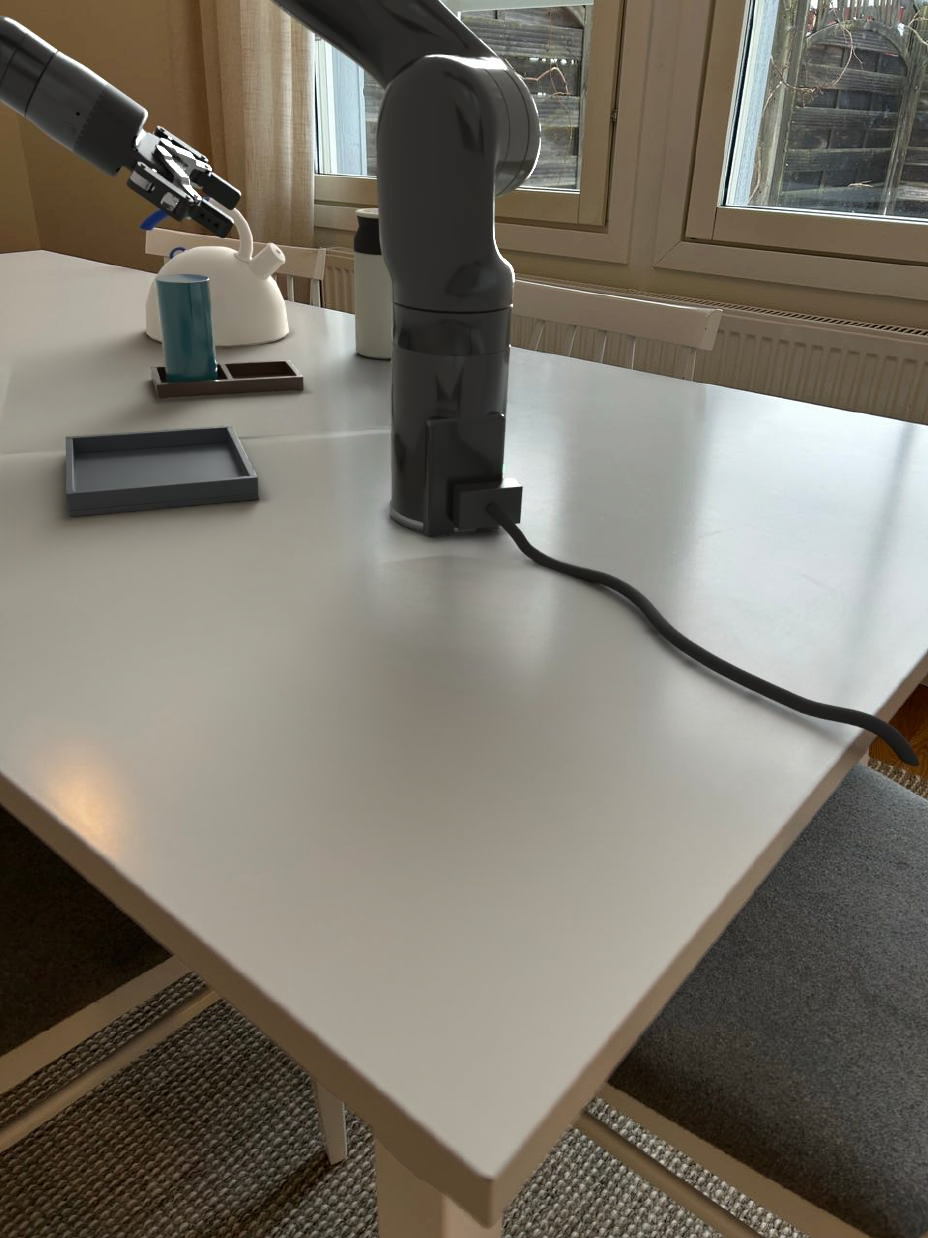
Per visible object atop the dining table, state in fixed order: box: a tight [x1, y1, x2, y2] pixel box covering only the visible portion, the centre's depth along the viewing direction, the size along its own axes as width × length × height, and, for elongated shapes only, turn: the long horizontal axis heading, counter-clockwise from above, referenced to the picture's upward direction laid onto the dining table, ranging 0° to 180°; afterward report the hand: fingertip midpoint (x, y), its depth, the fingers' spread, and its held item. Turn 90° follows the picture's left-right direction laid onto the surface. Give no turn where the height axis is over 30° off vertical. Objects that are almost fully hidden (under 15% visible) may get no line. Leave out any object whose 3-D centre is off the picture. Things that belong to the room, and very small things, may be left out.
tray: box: [65, 424, 260, 518], centre depth 85 cm, size 15×15×2 cm
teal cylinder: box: [154, 274, 218, 383], centre depth 108 cm, size 6×6×12 cm
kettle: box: [139, 196, 290, 347], centre depth 133 cm, size 20×21×18 cm
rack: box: [150, 359, 305, 399], centre depth 112 cm, size 8×16×2 cm, turn 110°
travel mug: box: [353, 207, 392, 360], centre depth 126 cm, size 8×8×18 cm
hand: (233, 215), depth 101 cm, fingers open, 8 cm apart
